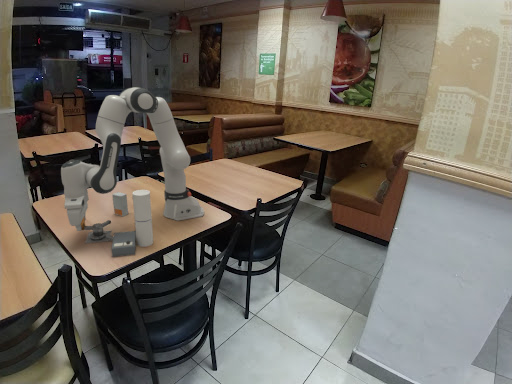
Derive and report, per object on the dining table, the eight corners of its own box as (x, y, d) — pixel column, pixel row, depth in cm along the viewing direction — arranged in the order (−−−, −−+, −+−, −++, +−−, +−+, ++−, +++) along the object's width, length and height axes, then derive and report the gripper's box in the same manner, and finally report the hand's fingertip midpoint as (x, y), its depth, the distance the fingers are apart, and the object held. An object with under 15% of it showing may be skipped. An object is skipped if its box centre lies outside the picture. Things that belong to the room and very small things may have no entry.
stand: (136, 228, 152) (135, 218, 149) (135, 254, 130) (134, 242, 128) (88, 232, 145) (87, 222, 143) (78, 260, 124) (76, 248, 122)
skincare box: (114, 214, 164) (111, 194, 160) (119, 211, 168) (117, 191, 164) (123, 216, 162) (120, 196, 158) (128, 213, 166) (126, 193, 162)
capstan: (86, 229, 147) (83, 211, 143) (112, 229, 148) (110, 211, 145) (75, 243, 134) (72, 224, 131) (103, 243, 136) (101, 224, 133)
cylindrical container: (133, 244, 138) (128, 193, 129) (144, 237, 144) (140, 188, 135) (146, 248, 135) (142, 196, 126) (156, 241, 142) (153, 191, 133)
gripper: (73, 189, 141) (78, 216, 146) (63, 207, 123) (68, 236, 128) (89, 188, 143) (92, 215, 148) (80, 205, 125) (85, 235, 130)
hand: (81, 225), depth 137 cm, fingers open, 8 cm apart
